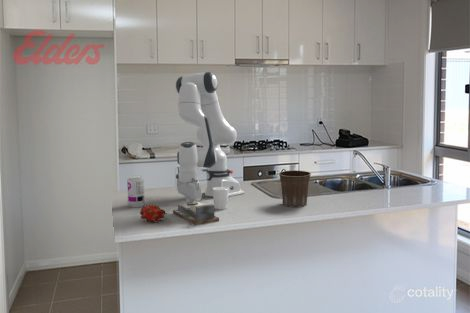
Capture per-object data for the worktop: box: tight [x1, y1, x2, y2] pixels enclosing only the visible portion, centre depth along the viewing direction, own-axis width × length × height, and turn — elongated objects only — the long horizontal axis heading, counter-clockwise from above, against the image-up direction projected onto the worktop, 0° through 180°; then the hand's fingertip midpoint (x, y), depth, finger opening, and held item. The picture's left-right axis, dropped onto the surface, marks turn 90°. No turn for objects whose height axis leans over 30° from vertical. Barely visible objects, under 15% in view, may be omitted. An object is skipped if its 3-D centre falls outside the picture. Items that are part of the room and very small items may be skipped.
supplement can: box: [126, 175, 146, 208], centre depth 240 cm, size 8×8×15 cm
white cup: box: [213, 187, 230, 211], centre depth 233 cm, size 8×8×10 cm
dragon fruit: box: [139, 204, 167, 223], centre depth 211 cm, size 8×8×12 cm
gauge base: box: [172, 203, 220, 226], centre depth 218 cm, size 12×24×8 cm, turn 30°
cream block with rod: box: [186, 201, 206, 213], centre depth 214 cm, size 8×6×6 cm
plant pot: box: [278, 169, 312, 207], centre depth 238 cm, size 16×16×16 cm
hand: (189, 205), depth 223 cm, fingers closed
